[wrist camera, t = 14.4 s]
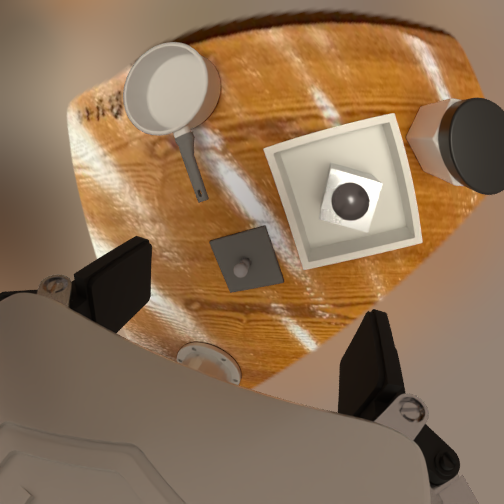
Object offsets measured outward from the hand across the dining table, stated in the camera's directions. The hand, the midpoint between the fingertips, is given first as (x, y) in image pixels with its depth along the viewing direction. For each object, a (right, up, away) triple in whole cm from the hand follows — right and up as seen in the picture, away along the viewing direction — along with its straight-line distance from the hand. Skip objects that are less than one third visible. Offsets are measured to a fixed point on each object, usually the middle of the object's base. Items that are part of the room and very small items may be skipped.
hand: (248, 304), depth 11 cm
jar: (+22, +15, +14) cm, 30 cm away
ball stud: (-1, +1, +27) cm, 27 cm away
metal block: (+11, +9, +19) cm, 24 cm away
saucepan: (-7, +19, +21) cm, 29 cm away
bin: (+11, +10, +20) cm, 25 cm away
